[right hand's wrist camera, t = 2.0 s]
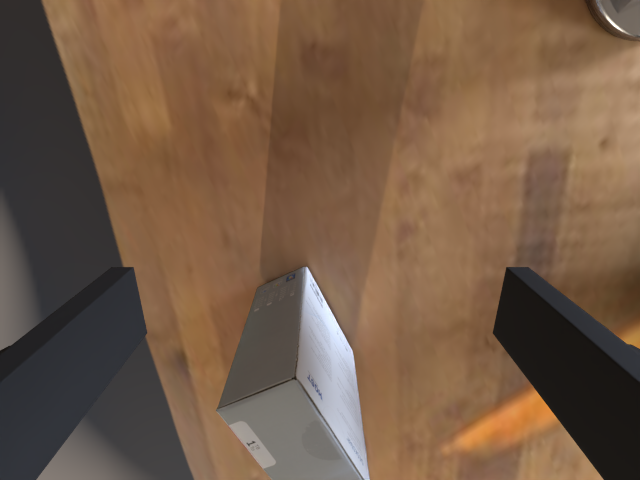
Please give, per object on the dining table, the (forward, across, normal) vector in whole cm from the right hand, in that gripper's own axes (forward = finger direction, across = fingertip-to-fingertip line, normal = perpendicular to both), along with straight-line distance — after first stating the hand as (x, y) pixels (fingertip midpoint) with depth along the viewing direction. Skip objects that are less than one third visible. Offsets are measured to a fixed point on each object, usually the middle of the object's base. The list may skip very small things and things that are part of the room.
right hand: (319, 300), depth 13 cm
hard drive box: (+30, +2, +21) cm, 37 cm away
